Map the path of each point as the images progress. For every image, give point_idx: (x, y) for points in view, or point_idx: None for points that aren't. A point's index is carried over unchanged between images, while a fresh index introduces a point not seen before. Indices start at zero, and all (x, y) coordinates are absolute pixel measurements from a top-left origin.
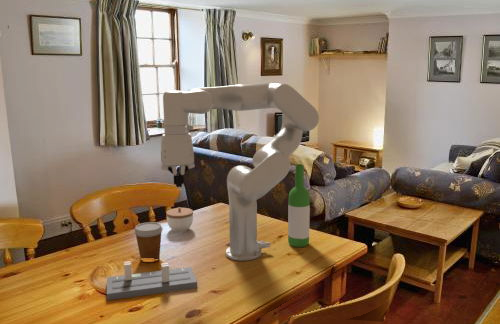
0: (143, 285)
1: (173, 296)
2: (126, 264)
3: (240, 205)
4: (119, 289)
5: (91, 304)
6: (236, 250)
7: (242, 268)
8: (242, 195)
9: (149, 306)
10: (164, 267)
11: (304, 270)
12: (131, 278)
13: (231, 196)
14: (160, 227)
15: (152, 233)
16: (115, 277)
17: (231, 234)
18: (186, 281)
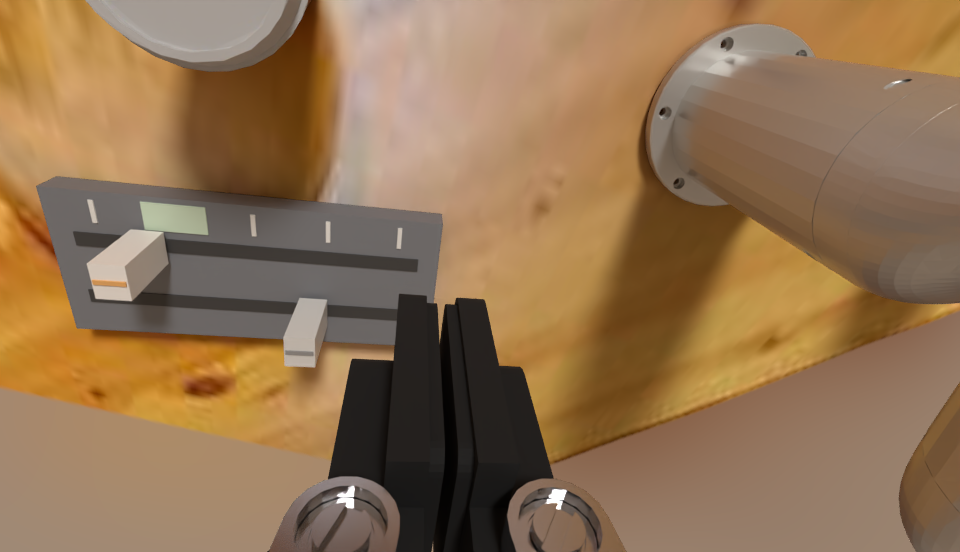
0: (223, 311)
1: (337, 356)
2: (107, 295)
3: (900, 296)
4: (125, 310)
5: (34, 320)
6: (689, 171)
7: (638, 252)
8: (902, 516)
9: (253, 387)
10: (297, 363)
11: (799, 337)
12: (163, 266)
13: (950, 259)
14: (286, 8)
15: (223, 64)
16: (82, 202)
17: (725, 162)
18: (392, 333)
